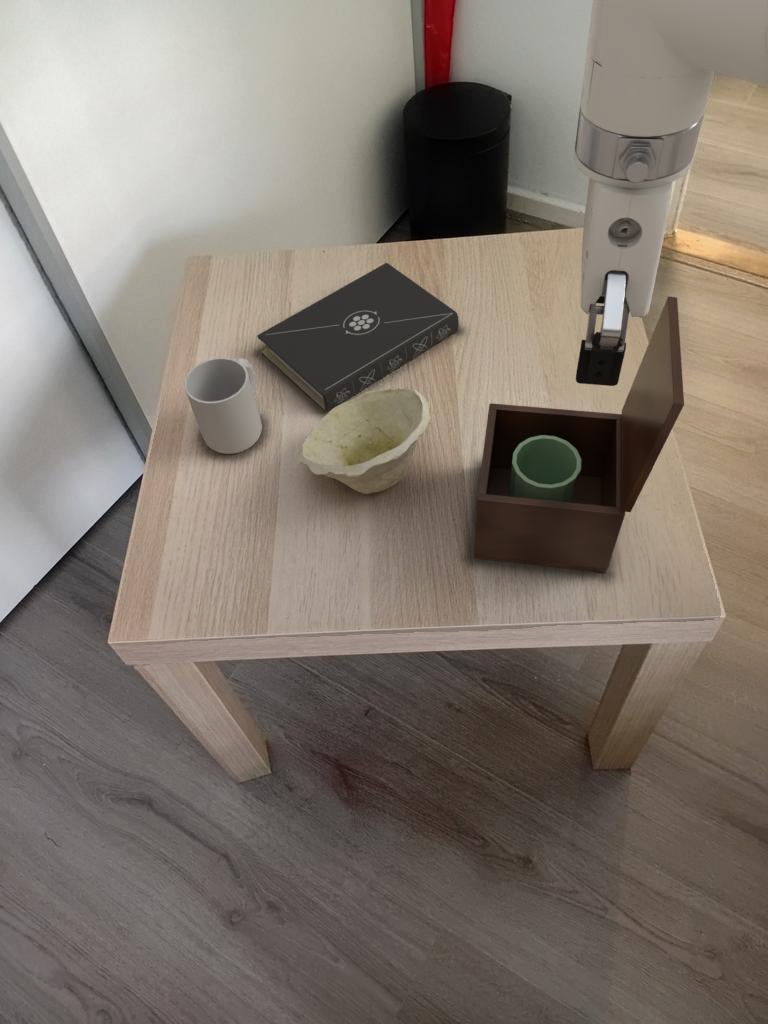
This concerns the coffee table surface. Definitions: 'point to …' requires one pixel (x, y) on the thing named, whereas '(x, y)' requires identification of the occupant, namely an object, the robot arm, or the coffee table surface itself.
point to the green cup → (545, 469)
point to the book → (357, 335)
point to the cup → (225, 403)
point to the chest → (542, 523)
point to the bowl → (368, 439)
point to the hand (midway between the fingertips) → (598, 339)
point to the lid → (652, 404)
